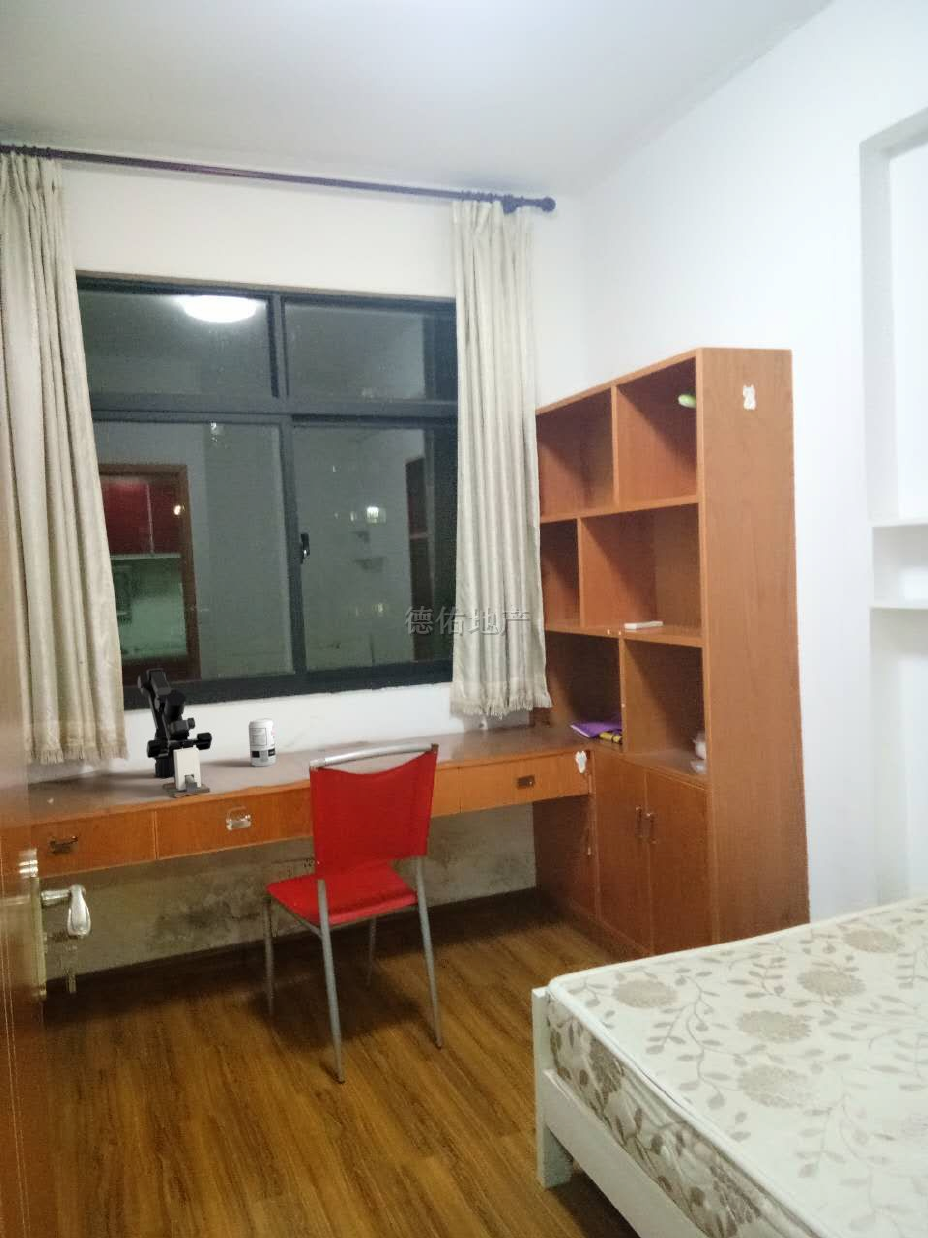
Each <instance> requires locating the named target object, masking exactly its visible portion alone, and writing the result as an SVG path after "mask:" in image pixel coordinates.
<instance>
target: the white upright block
mask: <svg viewBox="0 0 928 1238" xmlns="http://www.w3.org/2000/svg"><path fill="white" fill-rule="evenodd" d="M173 751H174V765H175V779H176V788H177V789H178V790H179V791H180V790H186V783H188V782H185V776H184V775H191V776H192V777H193V778H194V779H195V782H197V787H201V783H202V779H201V764H200V763H201V762H200V750H199V749H198V748H196V746H193V747H192V748H185V749H183V748H182V749H178V750H173Z"/></svg>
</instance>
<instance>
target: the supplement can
mask: <svg viewBox="0 0 928 1238" xmlns="http://www.w3.org/2000/svg"><path fill="white" fill-rule="evenodd" d="M247 726H248V739H249V740H248V742H249V754H250V764H251V765H252V766H253V767H258V768H259V767H260V768H261V767H268V766H272V765H274V764H275V763H276V762H277V758H276V740H275V728H274V727H275V725H274V722H273V720H272V719H271V718H257V719H251V720H250V721H249V724H248V725H247Z"/></svg>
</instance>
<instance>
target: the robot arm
mask: <svg viewBox="0 0 928 1238" xmlns="http://www.w3.org/2000/svg"><path fill="white" fill-rule="evenodd" d="M137 687H138V689H140V692H141V695H142V696H143V697H144V698H146V699H147V700H148V703H149V708H150V711H151V715H152V719H153V723H154V728H155V733H154V737H153V739H150V740H148V742H147V743H146V756H147V758H148V759H151V758H152V759H153V760H155V762H154V771H155V774H153V775H154V778H155V777H156V778H161V779H167V778H171V777H174V774H175V765H174V751H173V750H178V749H185V748H192V747H196V748H198V749H199V751H205V750H206V751H207V750H209V749H211V746H212V742H213V735H212V734H211V732H208V731H207V732H206V731H205V732H199V733H197V734H196V737H194V738H193V737H192V738H188V737H190V731H191V730H194V729H195V728H196V721H195V717H188V718H187V719H183V714H184V712H185V706H186V702H187V701H186V700H187V698H186V695H185V694H184V693H182V692H180V691H178V689H176V688H171V686H170V685H169V682H168V681H167V677H166V672H165V671H164V668H151V669H148V670H146V672H144V673H142V674H139V676H138V678H137Z"/></svg>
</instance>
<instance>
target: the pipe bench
mask: <svg viewBox="0 0 928 1238" xmlns="http://www.w3.org/2000/svg"><path fill="white" fill-rule="evenodd" d="M184 776H185V782H188V783H186V790H180V791H179V790H178V789H177V788H176V779H175V774H174V776H173V781H172V782H167V783H162V788H163V789H164V790H165V791H166V790H167V791H166V792H168V793H169V794H170V795H171V796H172V797H173V796H174V798H175V797H177V796H184V795H189V794H196V795H198V794H197V793H201V794H206V793H210V790H211V788H209V787H208V786H206V785H205V784H203V783H202V782H201V787H197V782H195V779H194V778H193V777H192V776H191V774H190V775H184ZM184 797H185V796H184Z"/></svg>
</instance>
